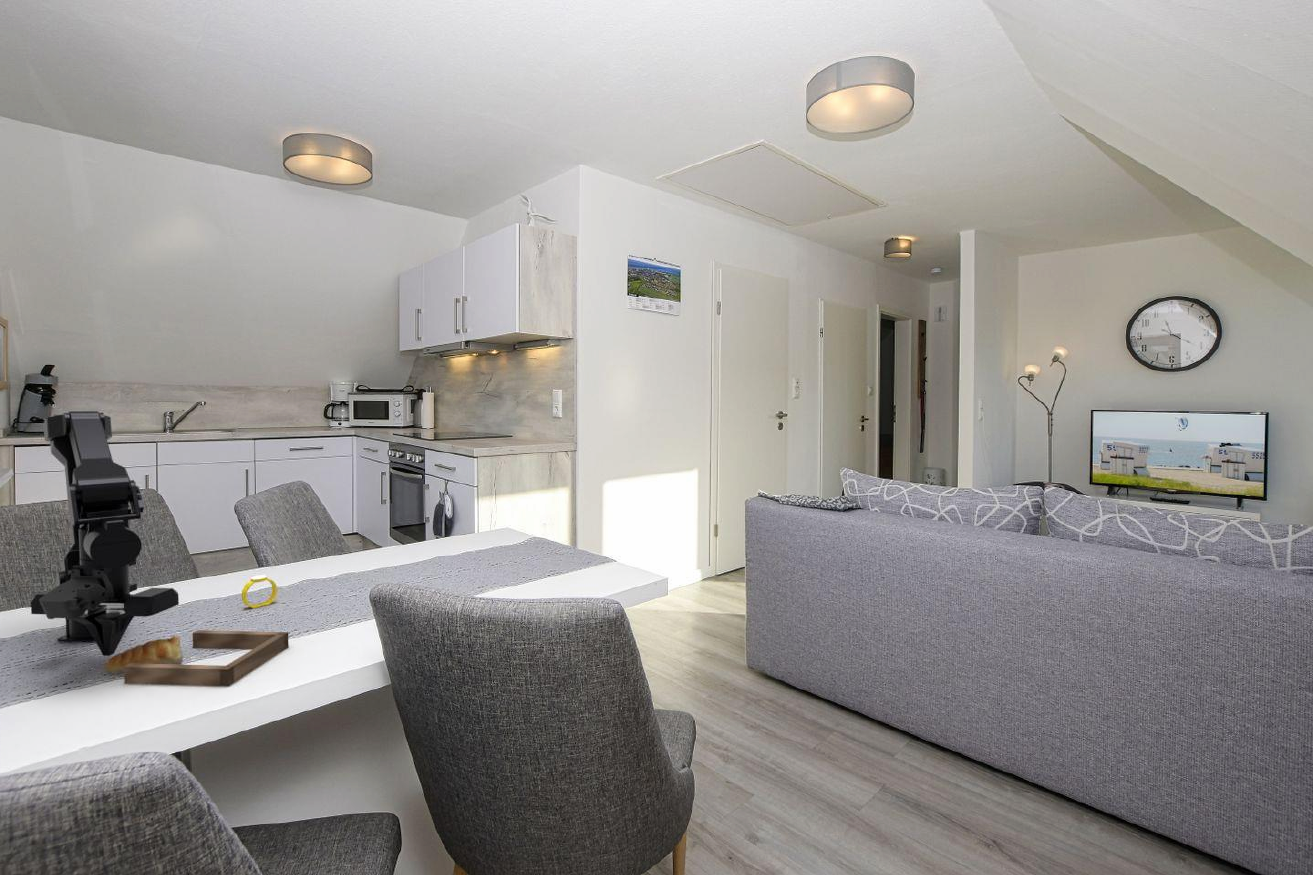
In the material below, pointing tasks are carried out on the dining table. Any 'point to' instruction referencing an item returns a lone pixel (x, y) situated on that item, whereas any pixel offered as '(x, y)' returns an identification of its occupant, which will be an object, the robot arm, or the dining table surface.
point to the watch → (253, 580)
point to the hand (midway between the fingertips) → (108, 654)
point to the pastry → (147, 655)
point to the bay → (212, 675)
